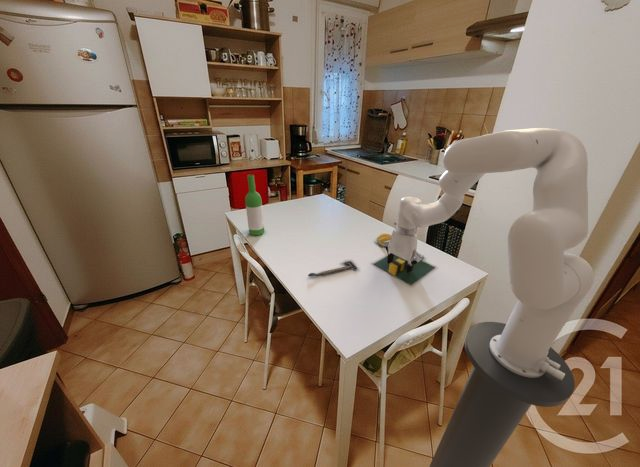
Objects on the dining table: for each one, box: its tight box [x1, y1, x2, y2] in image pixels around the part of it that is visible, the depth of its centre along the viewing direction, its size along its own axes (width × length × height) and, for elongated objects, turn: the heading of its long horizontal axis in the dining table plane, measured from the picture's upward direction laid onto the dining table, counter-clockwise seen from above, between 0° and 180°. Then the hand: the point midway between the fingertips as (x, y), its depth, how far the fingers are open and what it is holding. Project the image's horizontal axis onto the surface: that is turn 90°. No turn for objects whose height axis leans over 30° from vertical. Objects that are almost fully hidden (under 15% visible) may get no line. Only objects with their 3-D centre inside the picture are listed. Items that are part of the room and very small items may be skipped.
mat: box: [373, 255, 435, 286], centre depth 111 cm, size 18×18×1 cm
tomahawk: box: [307, 260, 358, 277], centre depth 107 cm, size 21×7×1 cm, turn 110°
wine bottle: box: [244, 174, 265, 236], centre depth 128 cm, size 8×8×30 cm
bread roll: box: [376, 233, 392, 247], centre depth 127 cm, size 8×9×4 cm
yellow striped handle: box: [387, 252, 425, 276], centre depth 110 cm, size 4×21×4 cm, turn 131°
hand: (399, 266), depth 108 cm, fingers open, 8 cm apart
